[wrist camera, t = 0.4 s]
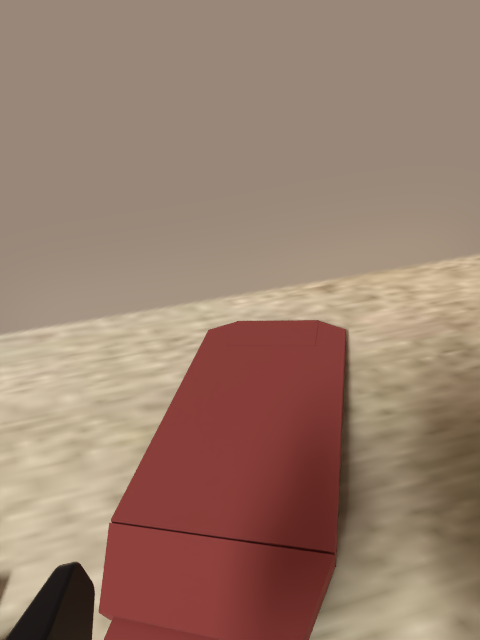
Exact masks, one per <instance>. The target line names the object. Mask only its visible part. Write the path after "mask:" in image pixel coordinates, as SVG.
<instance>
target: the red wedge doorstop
mask: <svg viewBox="0 0 480 640" xmlns="http://www.w3.org/2000/svg"><path fill="white" fill-rule="evenodd" d="M345 350H346V332H345V329H342V328H339V327H336V326H333V325H330V324H326V323H323V322H320V321H319V320H304V321H237V322H234V323H231V324H227V325H224V326H220V327H217V328H214V329H210V330H208V332H207V334H206V336H205V338H204V340H203V342H202V344H201V346H200V348H199V350H198V352H197V354H196V355H195V357H194V359H193V361H192V363H191V365H190V367H189V369H188V371H187V373H186V375H185V377H184V379H183V381H182V383H181V385H180V387H179V388H178V390H177V392H176V394H175V396H174V398H173V400H172V402H171V404H170V406H169V408H168V410H167V412H166V414H165V416H164V418H163V420H162V421H161V423H160V425H159V427H158V429H157V431H156V433H155V435H154V437H153V439H152V441H151V443H150V445H149V447H148V449H147V451H146V453H145V454H144V456H143V458H142V460H141V462H140V464H139V466H138V468H137V470H136V472H135V474H134V476H133V478H132V480H131V482H130V484H129V486H128V488H127V489H126V491H125V493H124V495H123V497H122V499H121V501H120V503H119V505H118V507H117V509H116V511H115V513H114V515H113V517H112V519H111V522H112V523H109V530H108V539H107V547H106V555H105V564H104V572H103V580H102V589H101V597H100V605H99V613H100V614H102V615H103V616H105V617H106V618H108V619H109V620H112V622H111V624H110V626H109V629H108V631H107V633H106V636H105V638H104V640H309V638H310V635H311V632H312V630H313V627H314V624H315V621H316V619H317V616H318V613H319V610H320V608H321V605H322V602H323V599H324V597H325V594H326V591H327V588H328V585H329V583H330V580H331V577H332V574H333V572H334V569H335V567H336V554H337V531H338V509H339V486H340V464H341V441H342V419H343V396H344V374H345Z"/></svg>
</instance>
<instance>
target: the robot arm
mask: <svg viewBox="0 0 480 640" xmlns="http://www.w3.org/2000/svg"><path fill="white" fill-rule="evenodd" d="M94 597H95V591H94V585H93V583H92V581H91V579H90V578H89V576H88V575H87V573H86V572H85V570H84V569H83V567H82V566H81V564H80V563H78V562H71V563H67V564H63V565H60V566H58V567H57V568H56V569H55V570H54V571H53V573H52V574H51V576H50V577H49V578H48V580H47V581H46V583H45V584H44V585H43V587H42V588H41V590H40V591H39V592H38V594H37V595H36V597H35V598H34V600H33V601H32V602H31V604H30V605H29V607H28V608H27V609H26V611H25V612H24V614H23V615H22V617H21V618H20V619H19V621H18V622H17V624H16V625H15V626H14V628H13V629H12V631H11V632H10V633H9V635H8V636H7V638H6V639H5V640H92V628H93V613H94Z"/></svg>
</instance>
